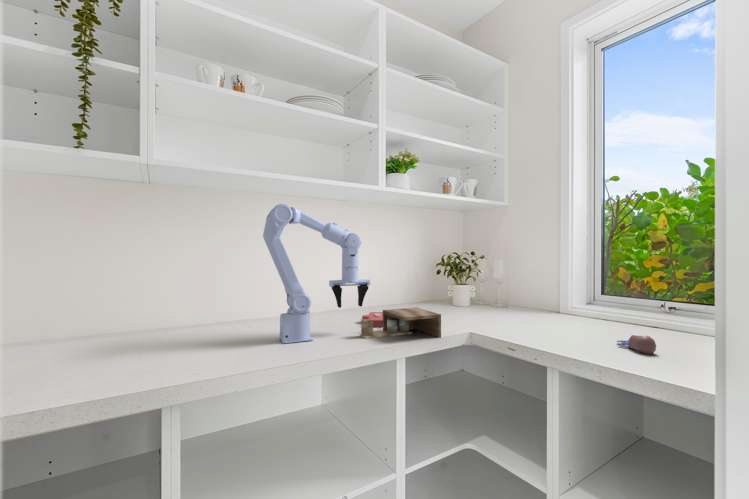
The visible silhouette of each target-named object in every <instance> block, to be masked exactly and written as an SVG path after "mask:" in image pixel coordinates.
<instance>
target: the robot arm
mask: <svg viewBox="0 0 749 499" xmlns="http://www.w3.org/2000/svg"><path fill="white" fill-rule="evenodd" d="M265 219H266V220H265V224H264V229H263V235H262V238H263V241H264V242H265V245H266V246H267V247H266V248H267V249H268V252H269V254H270V256H271V259H272V262H273V263H274V266H275V269H276V270H277V272H278V273H277V274H278V275H279V277H280V281H282V285H283V287H284V292H285V294H286V304H287V305H288V306H289V307H288V309H287V311H286V312H285V313H283V312H282V313H281V314H280V315H279V316H280V317H279V339H280V341H281V342H282V344H290V343H291V344H292V343H300V342H309V341H311V342H312V341H313V340H314V338H313V337H312V335H310V332H311V331H310V330H311V328H310V327H311V323H310V322H311V321H310V320H311V319H310V318H311V315H310V314H311V312H310V308H311V305H312V300H311V296H309V295H308V294H307V293H306V292H305V291H304V288H303V286H302V284H301V283H300V281H299V279H298V276H297V274H296V272H295V270H294V267H293V265H292V263H291V260H290V258H289V256H288V253H287V251H286V248H285V246H284V244H283V242H282V239H281V235H282V233H283V231H284V229H285V227H286V226H287V225H288V224H289V225H294V224H300V225H302V226H305V227H307V228H309V229H311V230H314V231H316V232H319V233H320V234H321V236H322V239H325V240H327V241H329V242H331V243H333V244H336V245H337V246H340V247H341V251H342V253H341V279H334V280H329V281H328V287H331V291H332V293H333V295H334V297H335V300H336V305H337V308H339V309H340V308H342V291H343V288H342V287H349V286H350V287H351V286H352V287H353V286H355V287H356V286H357V297H358V298H357V305H358V307H363V302H364V300H365V297H366V294H367V292H368V290H369V286H371V279H359V248H360V247H361V245H362V240H361V237H359V235H358V234H356V233H354V232H351V233H350V230H349V229H343V228H341V227H340V226H338V223H336V222H328V223H324V222H322V221H320V220H319V219H316V218H314V217H312V216H311V215H309V214H307V213H305V212H304V211H303V210H302V211H301V210H300V209H298V208H295V207H293V206H289V205H287V204H285V203H278V204H276V205H275V206H274V207H273V208H271V210H270V211H269V213H268V214H267V216H266V218H265Z"/></svg>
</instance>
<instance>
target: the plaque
mask: <svg viewBox="0 0 749 499" xmlns="http://www.w3.org/2000/svg"><path fill="white" fill-rule="evenodd" d="M361 319H372V320H373V329H374V328H375V329H376V328H378V329H379V328H380V329H381V328H382V327H383V311H372V312H369V313H368V314H365V315H362V318H361ZM382 329H383V328H382Z"/></svg>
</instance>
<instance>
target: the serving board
mask: <svg viewBox="0 0 749 499" xmlns="http://www.w3.org/2000/svg"><path fill="white" fill-rule="evenodd" d="M360 321H361V324H360V326H361V327H360V328H361V332H360V337H362V338H363V337H364V339H365V340H367V339H369V338H370V339H377V337H379V338H384V337H385V338H387V337H386V336H388V337H395V336H396V335H397V336H403V335H404V336H405V335H406V336H407V335H412V334H413V331H410V329H409V320H406V321H404V320H401V319H399V330H398V320H397V319H387V331H384V332H383V331H377V332H374V328H373V320H372V319H362V318H361V320H360ZM397 336H396V337H397ZM370 339H369V340H370Z"/></svg>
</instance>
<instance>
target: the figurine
mask: <svg viewBox="0 0 749 499" xmlns="http://www.w3.org/2000/svg"><path fill="white" fill-rule="evenodd" d="M616 345H618V346H621V345H622V346H628V347H629V348H632V349H634V350H635V351H638V352H641V353H642V354H644V355H648V356H649V355H654V353H655V352H656V351H657V344H656V341H655V340H654V338H652V337H651V336H649V335H631V336H630V337H629V338H628V339H627V340H624V339H621V340H619V339H618V340H616Z"/></svg>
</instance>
